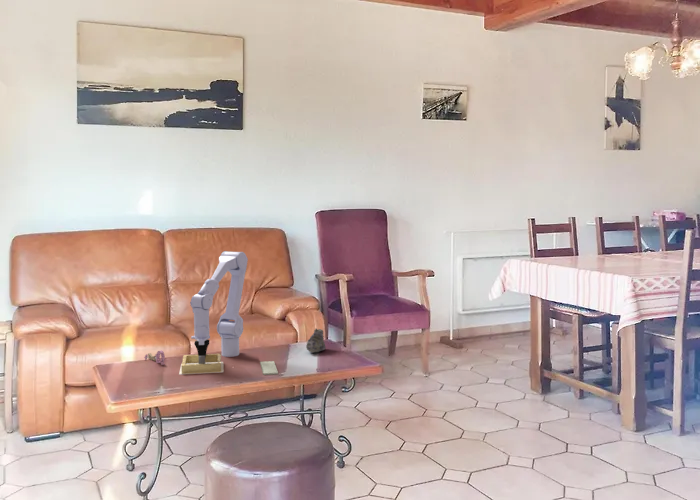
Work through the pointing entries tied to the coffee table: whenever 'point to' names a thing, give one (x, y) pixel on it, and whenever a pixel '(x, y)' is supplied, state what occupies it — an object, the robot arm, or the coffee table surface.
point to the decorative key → (156, 357)
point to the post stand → (202, 361)
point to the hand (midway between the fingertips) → (202, 359)
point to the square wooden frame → (201, 367)
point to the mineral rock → (316, 341)
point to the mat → (268, 368)
